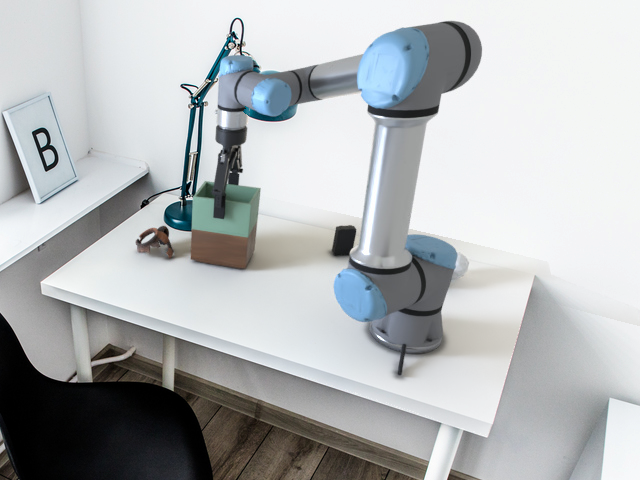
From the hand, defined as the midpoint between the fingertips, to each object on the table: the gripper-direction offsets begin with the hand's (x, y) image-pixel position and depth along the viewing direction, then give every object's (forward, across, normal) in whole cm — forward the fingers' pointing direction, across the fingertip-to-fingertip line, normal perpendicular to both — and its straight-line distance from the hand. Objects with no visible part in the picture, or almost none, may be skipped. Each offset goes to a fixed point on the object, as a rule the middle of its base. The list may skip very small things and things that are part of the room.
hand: (225, 207), depth 169 cm
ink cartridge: (+15, -13, +30) cm, 36 cm away
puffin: (+11, -9, +58) cm, 59 cm away
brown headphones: (+15, +3, -18) cm, 24 cm away
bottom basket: (+15, 0, 0) cm, 15 cm away
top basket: (+6, 0, 0) cm, 6 cm away
